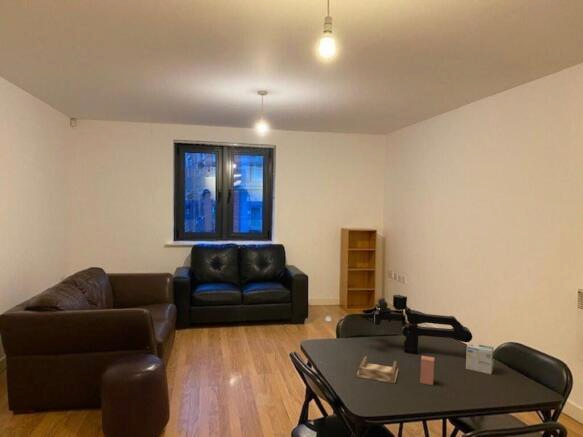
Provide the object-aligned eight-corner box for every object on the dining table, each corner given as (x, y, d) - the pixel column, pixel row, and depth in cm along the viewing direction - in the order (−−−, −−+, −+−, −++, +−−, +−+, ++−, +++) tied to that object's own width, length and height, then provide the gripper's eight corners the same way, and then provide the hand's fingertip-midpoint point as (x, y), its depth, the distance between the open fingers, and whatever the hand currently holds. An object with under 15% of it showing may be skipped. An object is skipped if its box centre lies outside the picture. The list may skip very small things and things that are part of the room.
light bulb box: (493, 369, 182) (494, 346, 181) (491, 375, 176) (492, 350, 175) (467, 364, 187) (468, 341, 187) (465, 368, 182) (466, 345, 181)
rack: (398, 370, 177) (398, 361, 177) (395, 383, 164) (395, 373, 164) (362, 364, 183) (362, 355, 182) (356, 376, 169) (356, 367, 169)
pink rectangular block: (433, 381, 167) (434, 357, 167) (433, 385, 164) (434, 360, 163) (420, 378, 169) (421, 355, 169) (420, 382, 165) (421, 358, 165)
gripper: (393, 296, 212) (363, 294, 216) (392, 303, 194) (359, 301, 198) (393, 317, 212) (363, 314, 216) (392, 326, 194) (359, 323, 198)
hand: (361, 313), depth 207 cm, fingers open, 9 cm apart
